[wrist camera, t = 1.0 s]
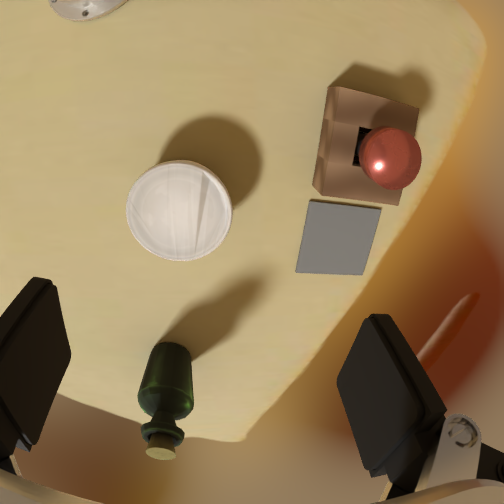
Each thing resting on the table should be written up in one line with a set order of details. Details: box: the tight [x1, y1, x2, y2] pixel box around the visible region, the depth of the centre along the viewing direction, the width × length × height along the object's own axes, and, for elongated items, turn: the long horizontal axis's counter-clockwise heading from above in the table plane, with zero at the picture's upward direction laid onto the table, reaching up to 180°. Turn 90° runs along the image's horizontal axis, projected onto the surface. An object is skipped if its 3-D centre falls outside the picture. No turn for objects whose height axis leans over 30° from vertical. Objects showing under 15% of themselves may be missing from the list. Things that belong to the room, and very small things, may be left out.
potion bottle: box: [137, 343, 194, 460], centre depth 40 cm, size 8×8×18 cm
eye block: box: [312, 87, 419, 206], centre depth 33 cm, size 12×10×4 cm
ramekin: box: [126, 160, 233, 261], centre depth 34 cm, size 11×11×5 cm
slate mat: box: [295, 201, 381, 275], centre depth 41 cm, size 10×10×1 cm
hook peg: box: [354, 126, 422, 190], centre depth 31 cm, size 6×6×9 cm
